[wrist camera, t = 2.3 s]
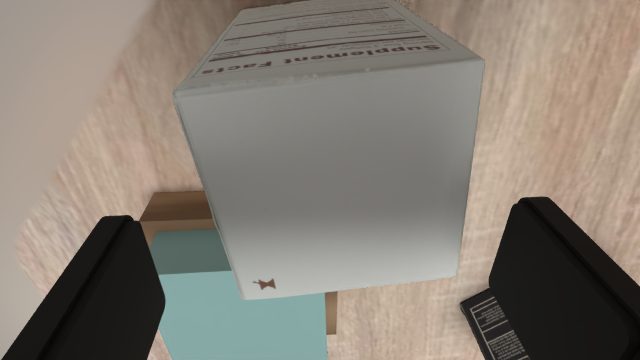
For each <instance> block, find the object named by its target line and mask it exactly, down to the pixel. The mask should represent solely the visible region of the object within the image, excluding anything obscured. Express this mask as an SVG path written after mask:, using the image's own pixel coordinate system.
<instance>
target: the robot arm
mask: <svg viewBox="0 0 640 360" xmlns="http://www.w3.org/2000/svg"><path fill="white" fill-rule="evenodd" d="M489 287H490V290H491V292H492V294H493V296H494V297H495V299H496V301H497V303H498V304H499V306H500V308H501V310H502V311H503V313H504V315H505V317H506V318H507V320H508V322H509V324H510V325H511V327H512V329H513V331H514V332H515V334H516V336H517V337H518V339H519V341H520V343H521V344H522V346H523V348H524V350H525V351H526V353H527V355H528V357H529V358H530V360H640V286H639V285H638V284H637V283H636V282H635V281H634V280H633V279H632V278H631V277H630V276H629V275H628V274H627V273H625V272H624V271H623V270H622V269H621V268H620V267H619V266H618V265H617V264H616V263H615V262H614V261H613V260H612V259H611V258H610V257H609V256H608V255H607V254H606V253H605V252H604V251H603V250H602V249H601V248H600V247H599V246H598V245H597V244H596V243H595V242H594V241H593V240H592V239H591V238H590V237H589V236H588V235H587V234H586V233H585V232H584V231H583V230H582V229H581V228H580V227H579V226H578V225H577V224H575V223H574V222H573V221H572V220H571V219H570V218H569V217H568V216H567V215H566V214H565V213H564V212H563V211H562V210H561V209H560V208H559V207H558V206H557V205H556V204H555V203H554V202H553V201H552V200H551V199H550V198H548V197H524V198H521V199H520V200H519V201H518V203H516V204H514V205H513V206H512V208H511V211H510V214H509V217H508V220H507V224H506V227H505V230H504V233H503V236H502V239H501V242H500V245H499V248H498V251H497V254H496V258H495V261H494V264H493V267H492V270H491V273H490V276H489ZM165 302H166V300H165V294H164V291H163V288H162V285H161V282H160V279H159V276H158V273H157V270H156V267H155V264H154V261H153V258H152V255H151V252H150V249H149V246H148V243H147V240H146V237H145V234H144V232H143V229H142V226H141V223H140V222H139V221H134V220H133V218H132V217H131V216H129V215H121V216H105V217H102V218H101V219H100V220H99V222H98V223H97V225H96V226H95V228H94V229H93V230H92V232H91V233H90V235H89V236H88V238H87V239H86V240H85V242H84V243H83V245H82V246H81V247H80V249H79V250H78V252H77V253H76V255H75V256H74V257H73V259H72V260H71V262H70V263H69V264H68V266H67V267H66V269H65V270H64V272H63V273H62V274H61V276H60V277H59V279H58V280H57V281H56V283H55V284H54V286H53V287H52V289H51V290H50V291H49V293H48V294H47V296H46V297H45V298H44V300H43V301H42V303H41V304H40V306H39V307H38V308H37V310H36V311H35V313H34V314H33V316H32V317H31V318H30V320H29V321H28V323H27V324H26V325H25V327H24V328H23V330H22V331H21V332H20V334H19V335H18V337H17V338H16V340H15V341H14V343H13V344H12V345H11V347H10V348H9V349H8V351H7V353H6V354H5V355H4V357H3V358H2V359H1V360H147V358H148V355H149V352H150V349H151V346H152V344H153V341H154V338H155V335H156V332H157V329H158V327H159V324H160V321H161V318H162V315H163V312H164V309H165Z"/></svg>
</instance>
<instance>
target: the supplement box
mask: <svg viewBox="0 0 640 360" xmlns="http://www.w3.org/2000/svg"><path fill="white" fill-rule="evenodd" d="M484 69H485V60H484V59H483V58H481V57H480V56H478V55H477V54H475V53H474V52H472V51H471V50H469V49H468V48H466V47H464V46H463V45H461V44H460V43H459V42H457V41H456V40H454V39H453V38H451V37H450V36H448V35H446V34H445V33H444V32H442V31H441V30H439V29H438V28H436V27H435V26H433V25H432V24H430V23H429V22H427V21H426V20H424V19H422V18H421V17H419V16H418V15H416V14H415V13H413V12H412V11H410V10H409V9H407V8H406V7H404V6H403V5H401V4H400V3H399V2H397V1H395V0H309V1H301V2H293V3H285V4H278V5H270V6H263V7H256V8H248V9H243V10H241V11H240V12H239V14H238V15H237V16H236V17H235V18H234V19H233V21H232V22H231V23H230V24H229V26H228V27H227V28H226V29H225V30H224V32H223V33H222V34H221V35H220V37H219V38H218V39H217V40H216V42H215V43H214V44H213V45H212V47H211V48H210V49H209V51H208V52H207V53H206V54H205V55H204V57H203V58H202V59H201V60H200V62H199V63H198V64H197V65H196V66H195V68H194V69H193V70H192V71H191V73H190V74H189V75H188V76H187V77H186V79H185V80H184V81H183V82H182V83H181V84H180V85H179V86H178V87H177V88H176V89H175V90H174V92H173V99H174V105H175V109H176V111H177V114H178V116H179V120H180V123H181V126H182V129H183V132H184V134H185V137H186V140H187V142H188V145H189V148H190V151H191V154H192V156H193V159H194V162H195V165H196V168H197V171H198V174H199V177H200V180H201V183H202V185H203V188H204V191H205V194H206V197H207V200H208V203H209V206H210V209H211V213H212V217H213V220H214V223H215V226H216V228H217V230H218V232H219V234H220V237H221V240H222V243H223V246H224V249H225V252H226V254H227V257H228V260H229V263H230V266H231V269H232V272H233V275H234V278H235V281H236V283H237V286H238V290H239V294H240V296H241V299H243V300H254V299H270V298H280V297H290V296H299V295H308V294H316V293H325V292H334V291H342V290H349V289H358V288H368V287H377V286H385V285H394V284H402V283H412V282H419V281H429V280H437V279H442V278H448V277H454V276H455V275H456V274H457V272H458V265H459V257H460V250H461V243H462V236H463V228H464V221H465V213H466V206H467V198H468V190H469V183H470V175H471V167H472V160H473V152H474V144H475V136H476V129H477V121H478V113H479V105H480V98H481V90H482V81H483V75H484Z"/></svg>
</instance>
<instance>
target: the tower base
mask: <svg viewBox="0 0 640 360" xmlns="http://www.w3.org/2000/svg"><path fill="white" fill-rule="evenodd" d="M139 222H140V223H141V226H142V229H143V232H144V234H145V237H146V240H147V243H148V246H149V247H150V245H151V243H152V241H153V239H154V237H155V235H156V233H157V232H173V231H190V230H208V229H217V228H216V226H215V223H214V220H213V217H212V213H211V209H210V206H209V203H208V200H207V197H206V194H205V191H192V192H161V193H154V194H153V196H152V198H151V200H150V202H149V203H148V205H147V207H146V209H145V211H144V213H143V214H142V216H141V218H140V220H139ZM325 314H326V335H331V334H336V322H337V291H334V292H325Z"/></svg>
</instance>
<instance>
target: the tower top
mask: <svg viewBox="0 0 640 360" xmlns="http://www.w3.org/2000/svg"><path fill="white" fill-rule="evenodd" d="M149 249H150V252H151V255H152V258H153V261H154V264H155V267H156V270H157V273H158V276H159V279H160V282H161V285H162V288H163V291H164V294H165V300H166V302H165V309H164V312H163V315H162V318H161V321H160V324H159V327H158V329H159V331H160V333H161V335H162V338H163V340H164V342H165V345H166V347H167V349H168V351H169V354H170V356H171V358H172V360H327V339H326V314H325V293H316V294H308V295H299V296H290V297H280V298H270V299H254V300H243V299H241V296H240V294H239V290H238V286H237V283H236V281H235V278H234V275H233V272H232V269H231V266H230V263H229V260H228V257H227V254H226V252H225V249H224V246H223V243H222V240H221V237H220V234H219V232H218V230H217V229H208V230H190V231H173V232H157V233H156V235H155V237H154V239H153V241H152V243H151V245H150V247H149Z"/></svg>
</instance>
